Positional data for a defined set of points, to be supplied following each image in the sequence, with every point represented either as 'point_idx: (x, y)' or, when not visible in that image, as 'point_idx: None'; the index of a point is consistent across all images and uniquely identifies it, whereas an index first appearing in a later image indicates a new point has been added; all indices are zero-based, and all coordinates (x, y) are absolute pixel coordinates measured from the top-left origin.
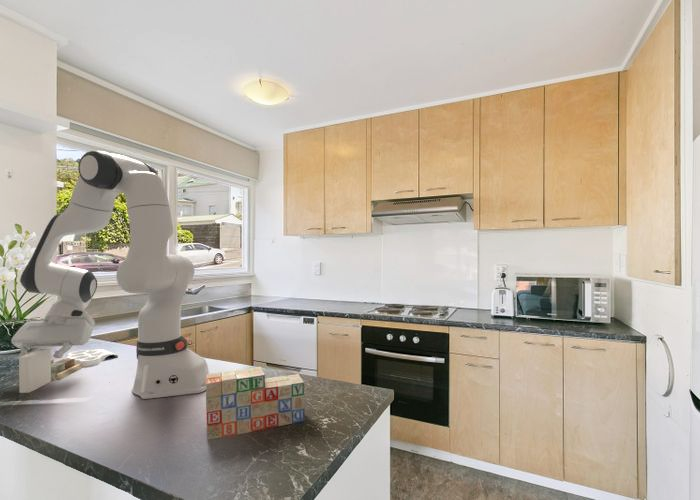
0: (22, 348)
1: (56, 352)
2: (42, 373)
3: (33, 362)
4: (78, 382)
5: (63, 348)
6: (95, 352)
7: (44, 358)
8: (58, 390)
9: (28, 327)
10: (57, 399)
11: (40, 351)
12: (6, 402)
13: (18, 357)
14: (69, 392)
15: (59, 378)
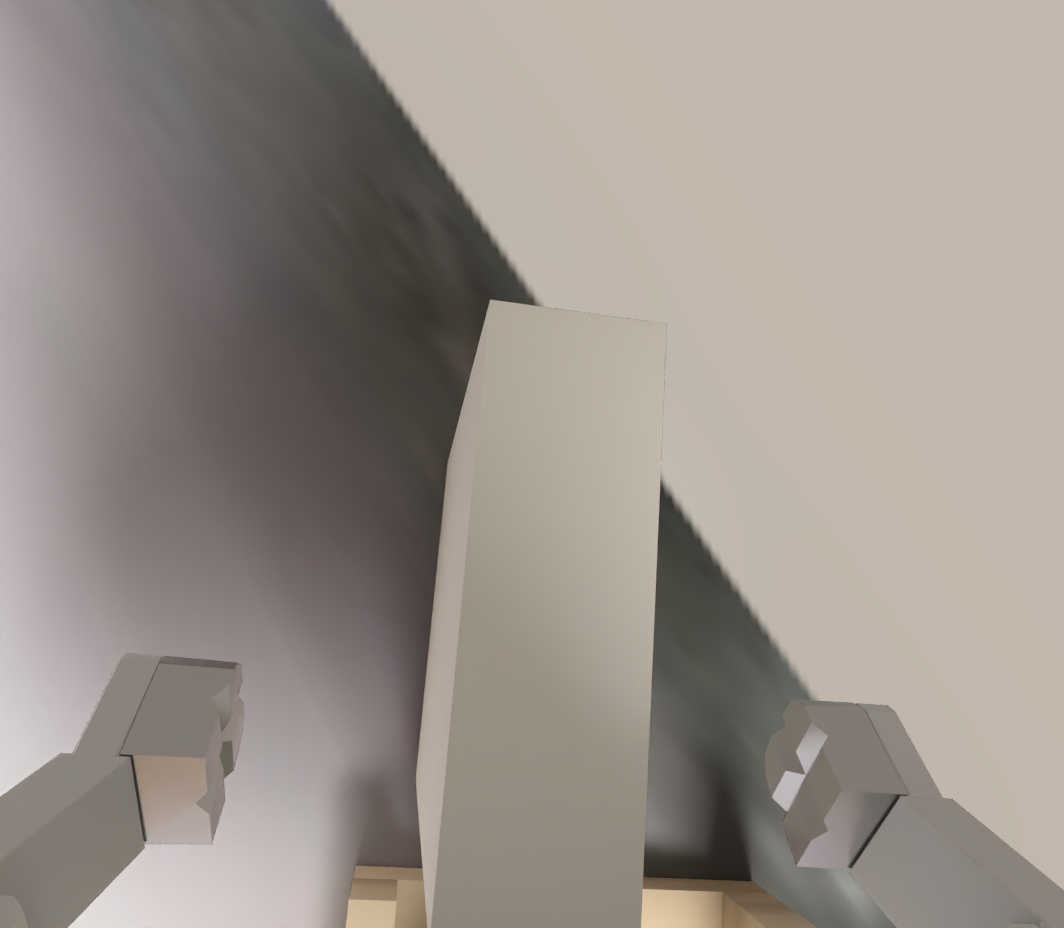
0: (1005, 874)
1: (176, 710)
2: (436, 651)
3: (468, 449)
4: None
5: (7, 795)
6: None
7: (441, 715)
8: (222, 570)
9: None
10: (92, 299)
11: (514, 701)
12: None
13: (883, 708)
14: (57, 476)
15: (360, 881)
